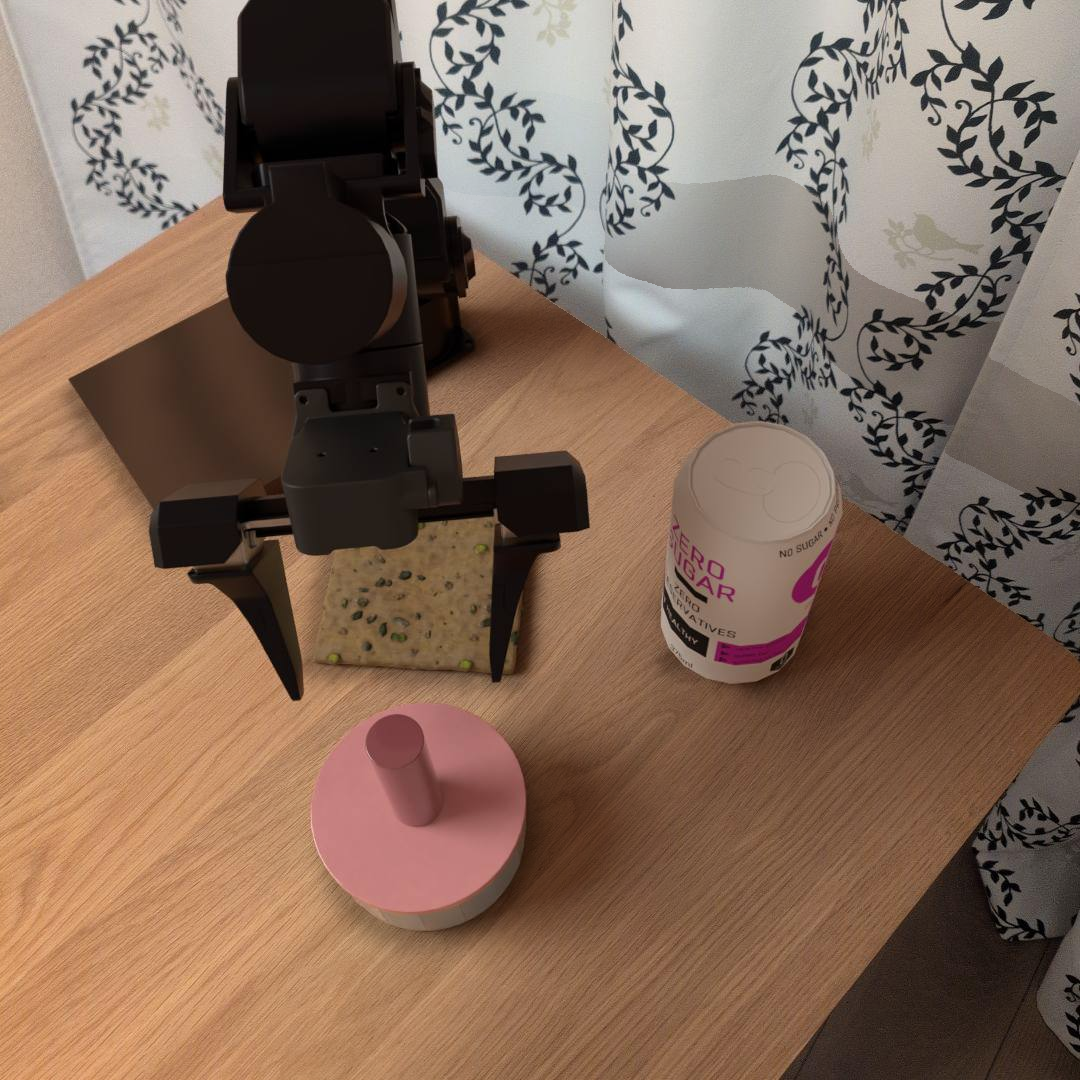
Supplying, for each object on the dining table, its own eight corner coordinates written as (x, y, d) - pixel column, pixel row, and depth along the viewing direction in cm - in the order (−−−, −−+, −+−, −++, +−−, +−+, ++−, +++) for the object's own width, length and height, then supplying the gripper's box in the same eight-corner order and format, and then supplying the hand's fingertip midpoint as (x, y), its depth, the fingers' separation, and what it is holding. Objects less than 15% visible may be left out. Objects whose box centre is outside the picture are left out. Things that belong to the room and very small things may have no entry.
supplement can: (818, 593, 69) (869, 442, 56) (773, 710, 65) (816, 577, 52) (690, 546, 71) (711, 391, 58) (638, 658, 67) (649, 517, 54)
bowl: (457, 710, 65) (448, 676, 62) (563, 853, 61) (561, 826, 57) (301, 814, 63) (282, 785, 59) (400, 972, 58) (386, 952, 54)
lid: (451, 674, 62) (431, 590, 55) (569, 831, 58) (565, 765, 50) (277, 788, 59) (228, 717, 52) (386, 964, 55) (351, 916, 47)
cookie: (345, 494, 73) (342, 486, 73) (534, 503, 73) (533, 495, 72) (310, 664, 67) (306, 657, 66) (516, 676, 66) (515, 669, 65)
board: (242, 306, 83) (237, 291, 81) (356, 449, 76) (352, 435, 74) (75, 392, 79) (67, 378, 78) (178, 551, 72) (171, 538, 71)
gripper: (73, 384, 42) (142, 781, 45) (583, 339, 42) (614, 738, 45) (162, 363, 53) (212, 685, 56) (567, 327, 53) (593, 650, 56)
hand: (397, 689), depth 53 cm, fingers open, 9 cm apart
